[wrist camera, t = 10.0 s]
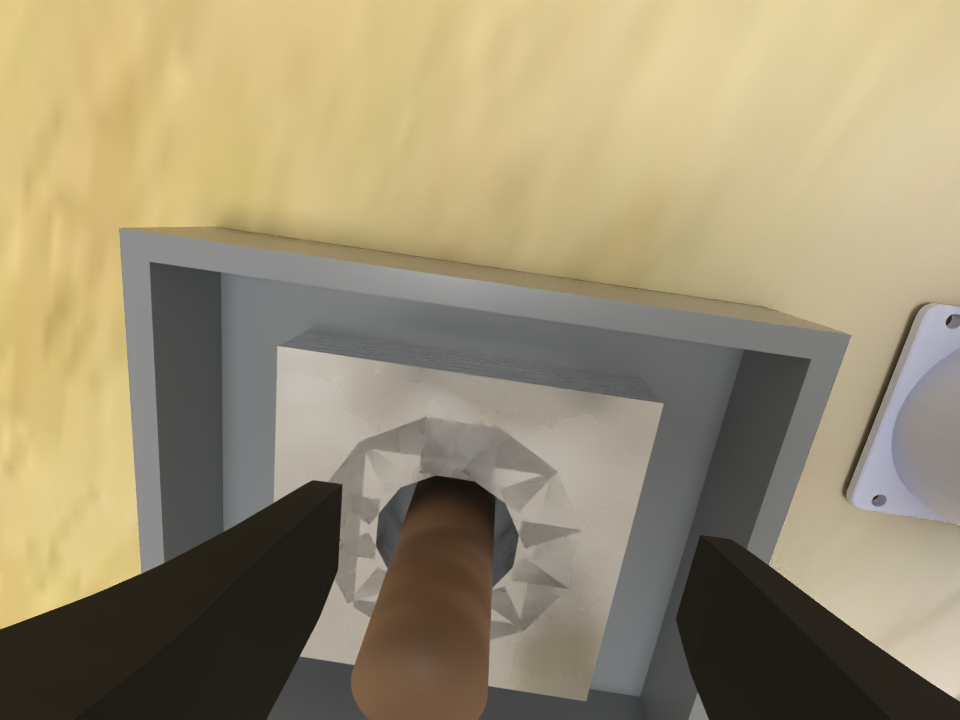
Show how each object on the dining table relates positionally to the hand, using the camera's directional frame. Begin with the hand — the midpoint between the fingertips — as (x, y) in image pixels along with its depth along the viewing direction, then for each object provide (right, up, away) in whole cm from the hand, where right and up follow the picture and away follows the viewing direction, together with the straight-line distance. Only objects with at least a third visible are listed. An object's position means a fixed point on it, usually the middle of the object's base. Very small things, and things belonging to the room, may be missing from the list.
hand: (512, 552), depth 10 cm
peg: (-2, -2, +9) cm, 9 cm away
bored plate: (-2, -1, +10) cm, 10 cm away
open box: (-2, -1, +10) cm, 10 cm away
